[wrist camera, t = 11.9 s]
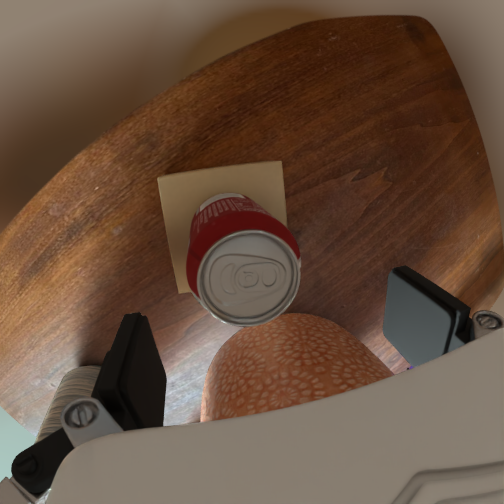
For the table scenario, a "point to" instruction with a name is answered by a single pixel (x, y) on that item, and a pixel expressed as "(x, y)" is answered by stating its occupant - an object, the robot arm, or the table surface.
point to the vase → (68, 396)
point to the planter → (286, 367)
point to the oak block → (206, 186)
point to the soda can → (241, 261)
